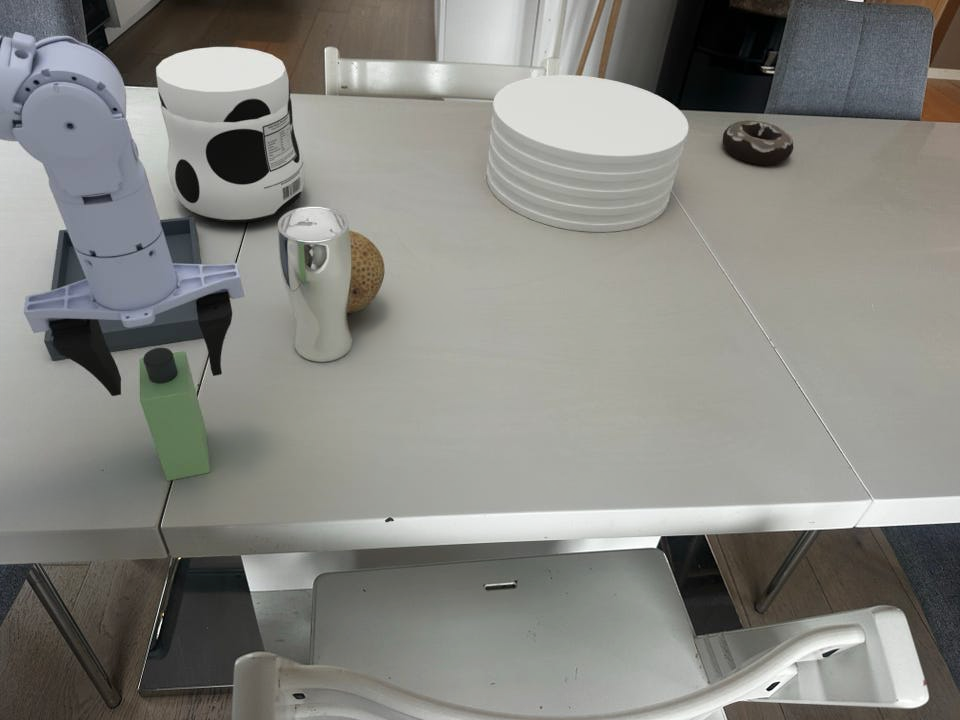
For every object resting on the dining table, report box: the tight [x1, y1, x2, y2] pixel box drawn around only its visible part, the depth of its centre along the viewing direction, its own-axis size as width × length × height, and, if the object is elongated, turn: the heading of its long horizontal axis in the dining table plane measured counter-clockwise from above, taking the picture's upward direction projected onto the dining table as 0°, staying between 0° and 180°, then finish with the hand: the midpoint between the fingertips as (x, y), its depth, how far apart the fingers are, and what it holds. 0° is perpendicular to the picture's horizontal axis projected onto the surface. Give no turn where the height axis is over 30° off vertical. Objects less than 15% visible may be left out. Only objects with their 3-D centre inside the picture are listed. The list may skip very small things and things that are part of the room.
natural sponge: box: [347, 230, 386, 314], centre depth 78 cm, size 9×9×10 cm
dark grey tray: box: [43, 216, 204, 361], centre depth 81 cm, size 15×21×3 cm
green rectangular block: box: [139, 347, 211, 482], centre depth 60 cm, size 4×5×12 cm
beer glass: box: [277, 205, 353, 363], centre depth 72 cm, size 7×7×15 cm
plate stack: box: [486, 74, 690, 233], centre depth 105 cm, size 28×28×12 cm
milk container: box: [155, 46, 306, 223], centre depth 92 cm, size 17×17×18 cm
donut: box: [722, 119, 794, 166], centre depth 121 cm, size 12×12×4 cm
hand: (167, 377), depth 58 cm, fingers open, 7 cm apart
